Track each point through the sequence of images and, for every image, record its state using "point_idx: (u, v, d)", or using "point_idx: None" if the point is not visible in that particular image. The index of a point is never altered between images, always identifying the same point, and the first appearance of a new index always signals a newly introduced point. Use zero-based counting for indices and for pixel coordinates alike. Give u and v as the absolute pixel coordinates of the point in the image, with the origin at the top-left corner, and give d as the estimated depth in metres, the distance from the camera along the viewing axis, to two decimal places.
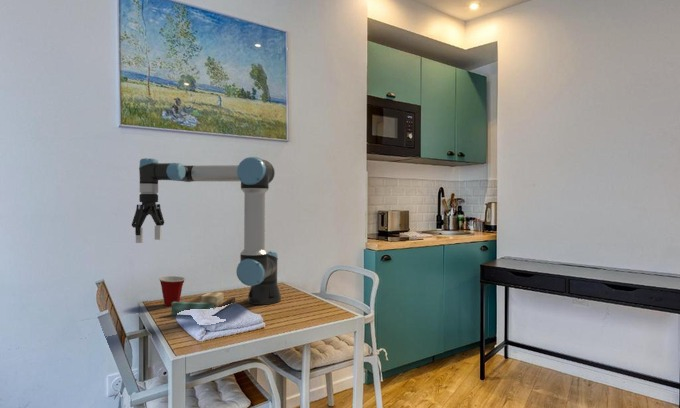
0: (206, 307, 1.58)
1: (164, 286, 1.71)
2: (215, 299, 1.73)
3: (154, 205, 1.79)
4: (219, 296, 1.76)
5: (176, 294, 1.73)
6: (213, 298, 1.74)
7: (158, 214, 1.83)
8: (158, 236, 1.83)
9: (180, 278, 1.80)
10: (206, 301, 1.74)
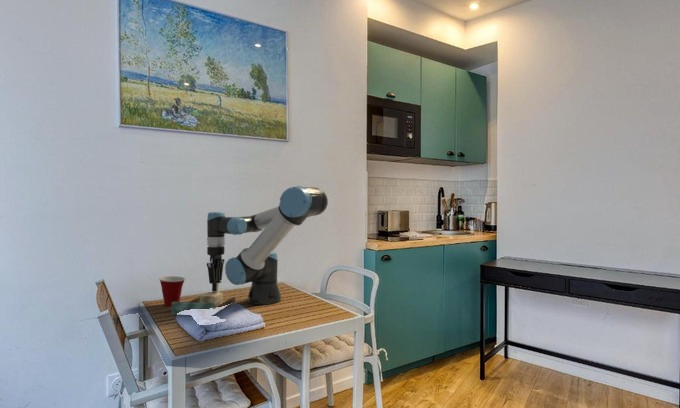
0: (206, 307, 1.58)
1: (164, 286, 1.71)
2: (214, 299, 1.72)
3: (220, 256, 1.83)
4: (218, 296, 1.75)
5: (176, 294, 1.73)
6: (212, 299, 1.72)
7: None
8: None
9: (180, 278, 1.80)
10: (205, 301, 1.73)
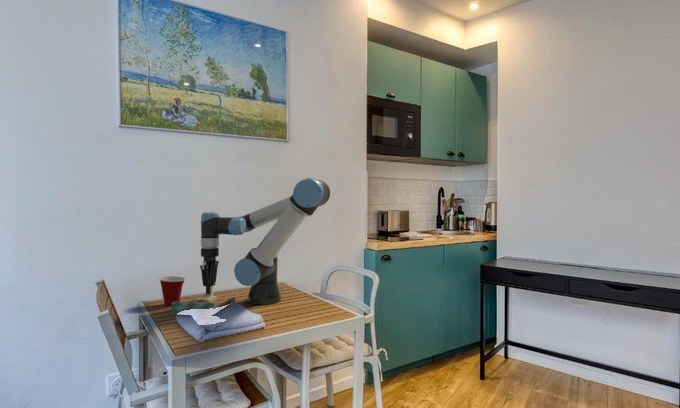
0: (206, 307, 1.58)
1: (164, 286, 1.71)
2: None
3: (215, 257, 1.77)
4: (212, 299, 1.69)
5: (176, 294, 1.73)
6: (206, 302, 1.67)
7: (213, 271, 1.78)
8: None
9: (180, 278, 1.80)
10: None
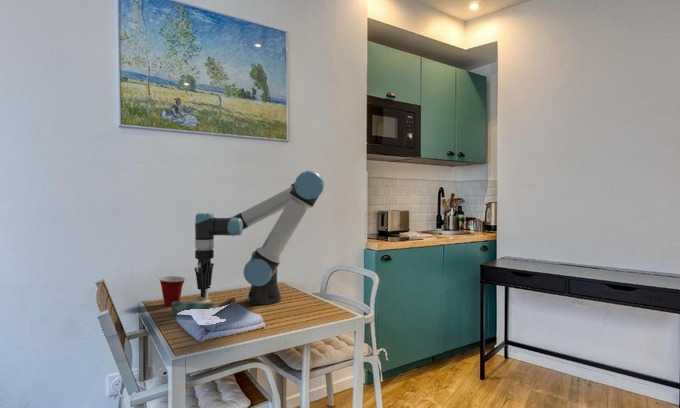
0: (206, 307, 1.58)
1: (164, 286, 1.71)
2: None
3: (210, 260, 1.72)
4: None
5: (176, 294, 1.73)
6: None
7: (208, 273, 1.73)
8: None
9: (180, 278, 1.80)
10: None
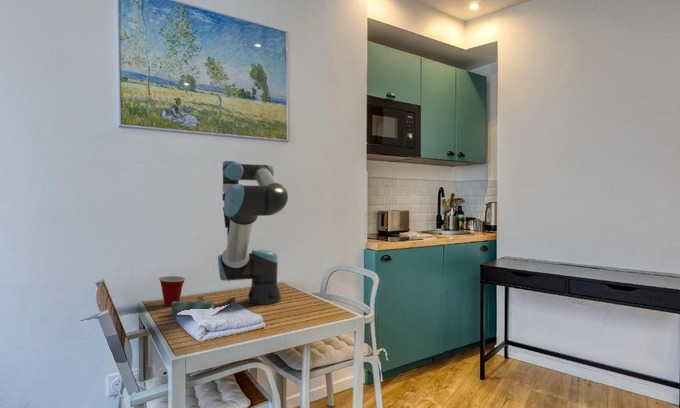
0: (206, 307, 1.58)
1: (164, 286, 1.71)
2: None
3: None
4: None
5: (176, 294, 1.73)
6: None
7: None
8: None
9: (180, 278, 1.80)
10: None
